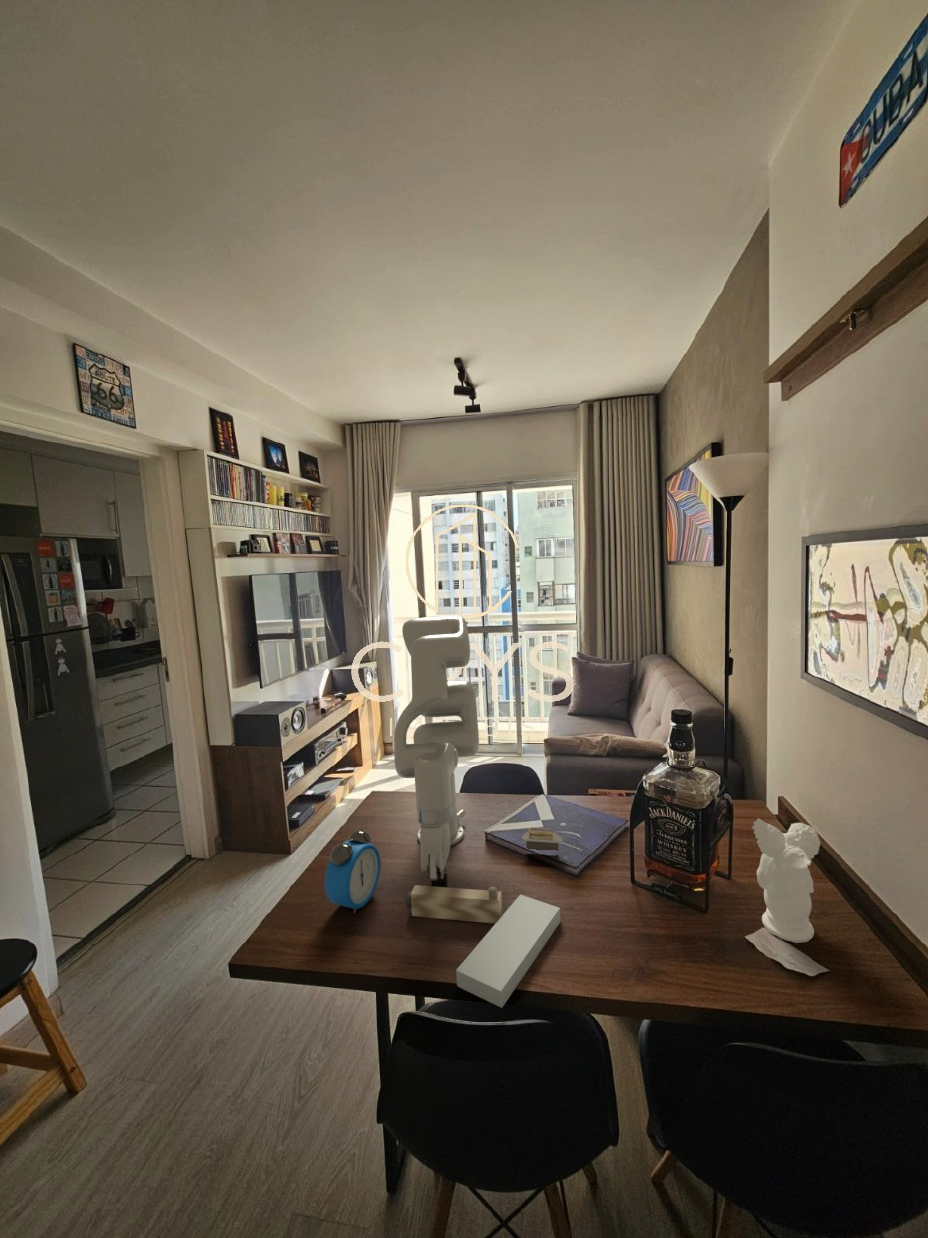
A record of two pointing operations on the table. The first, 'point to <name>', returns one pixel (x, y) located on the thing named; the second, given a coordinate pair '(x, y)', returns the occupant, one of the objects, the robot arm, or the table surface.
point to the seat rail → (508, 950)
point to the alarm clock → (353, 871)
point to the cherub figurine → (787, 878)
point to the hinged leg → (455, 903)
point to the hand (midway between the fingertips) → (439, 892)
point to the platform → (541, 840)
